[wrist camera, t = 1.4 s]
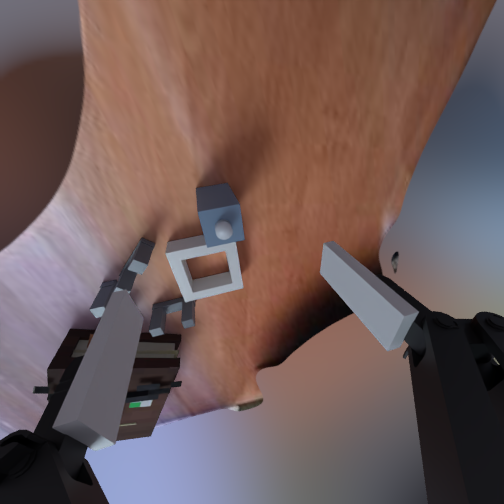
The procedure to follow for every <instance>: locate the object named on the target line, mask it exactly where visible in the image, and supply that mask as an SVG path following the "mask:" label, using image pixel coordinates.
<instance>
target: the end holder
mask: <svg viewBox="0 0 504 504" xmlns="http://www.w3.org/2000/svg"><path fill="white" fill-rule="evenodd" d="M222 251H225V252H226V256H227V261H228V266H229V272H224V273H220V274H216V275H212V276H207V277H203V278H199V279H194V280H193V279H192V277H191V274H190V271H189V268H188V265H187V262H186V259H190V258H194V257H199V256H204V255H208V254H213V253H217V252H222ZM165 254H166V256H167V259H168V261H169V264H170V266H171V269H172V271H173V273H174V276H175V278H176V281H177V283H178V286H179V288H180V291H181V293H182V295H183V298H184V300H185V302H189V301H193V300H197V299H201V298H205V297H209V296H213V295H217V294H221V293H225V292H229V291H233V290H237V289H241V288H243V283H242V277H241V271H240V265H239V259H238V253H237V247H236V242H232V243H228V244H223V245H218V246H214V247H209V248H207V245H206V242H205V238H204V235H199V236H195V237H190V238H185V239H180V240H175V241H170V242H167V248H166V253H165Z"/></svg>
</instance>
